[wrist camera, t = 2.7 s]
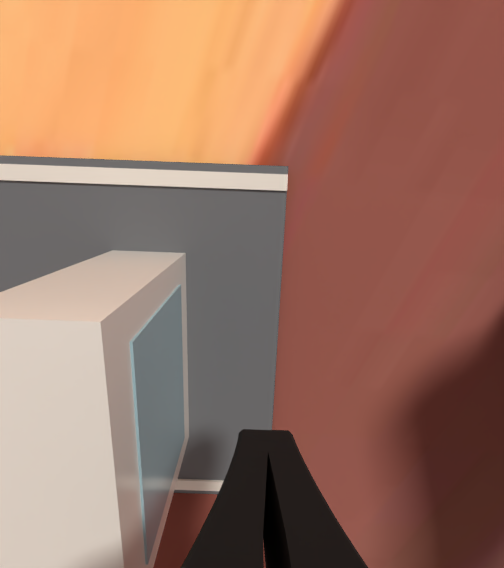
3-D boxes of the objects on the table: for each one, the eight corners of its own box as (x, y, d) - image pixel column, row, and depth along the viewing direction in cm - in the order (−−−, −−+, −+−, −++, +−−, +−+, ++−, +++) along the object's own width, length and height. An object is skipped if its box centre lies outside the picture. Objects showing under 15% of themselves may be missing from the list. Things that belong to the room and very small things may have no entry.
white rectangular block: (187, 252, 13) (103, 322, 6) (190, 436, 15) (134, 647, 8) (112, 250, 13) (-64, 316, 6) (127, 433, 15) (15, 643, 8)
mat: (286, 167, 13) (288, 166, 12) (267, 487, 17) (267, 497, 16) (-218, 148, 13) (-241, 146, 12) (-111, 474, 17) (-124, 484, 16)
